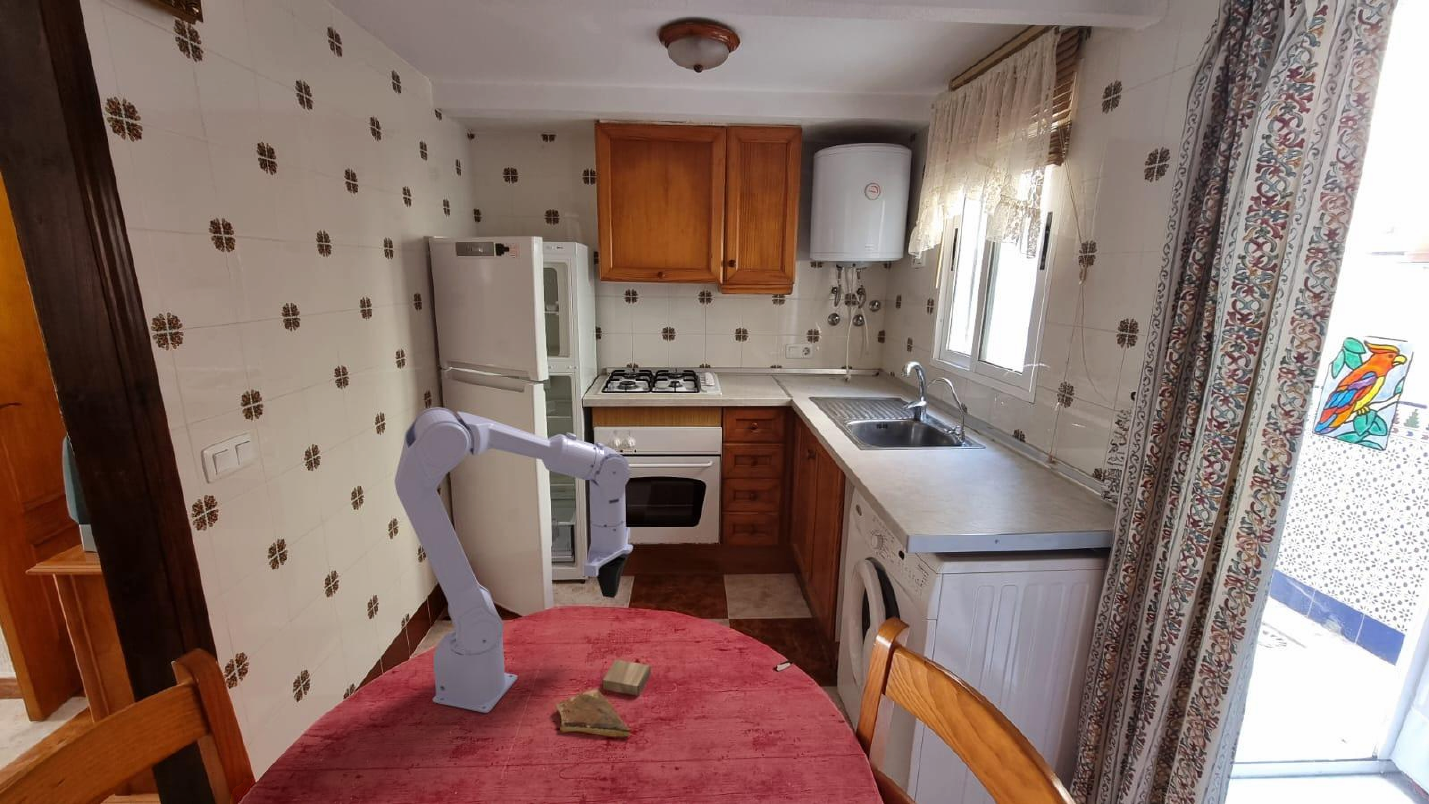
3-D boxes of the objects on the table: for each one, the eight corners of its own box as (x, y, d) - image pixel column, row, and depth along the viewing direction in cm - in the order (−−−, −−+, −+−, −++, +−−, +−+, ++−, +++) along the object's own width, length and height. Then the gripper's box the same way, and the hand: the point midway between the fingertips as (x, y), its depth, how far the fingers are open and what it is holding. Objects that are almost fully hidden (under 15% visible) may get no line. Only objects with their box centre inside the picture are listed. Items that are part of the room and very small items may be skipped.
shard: (631, 740, 79) (631, 729, 79) (579, 767, 75) (579, 755, 74) (598, 695, 88) (598, 685, 87) (550, 716, 83) (549, 705, 83)
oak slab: (602, 679, 88) (639, 686, 87) (615, 659, 93) (650, 665, 92) (603, 690, 89) (639, 696, 87) (615, 669, 93) (650, 675, 92)
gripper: (613, 541, 86) (615, 622, 89) (646, 506, 100) (646, 577, 103) (570, 536, 87) (573, 616, 90) (608, 502, 101) (610, 572, 104)
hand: (609, 595), depth 96 cm, fingers closed
